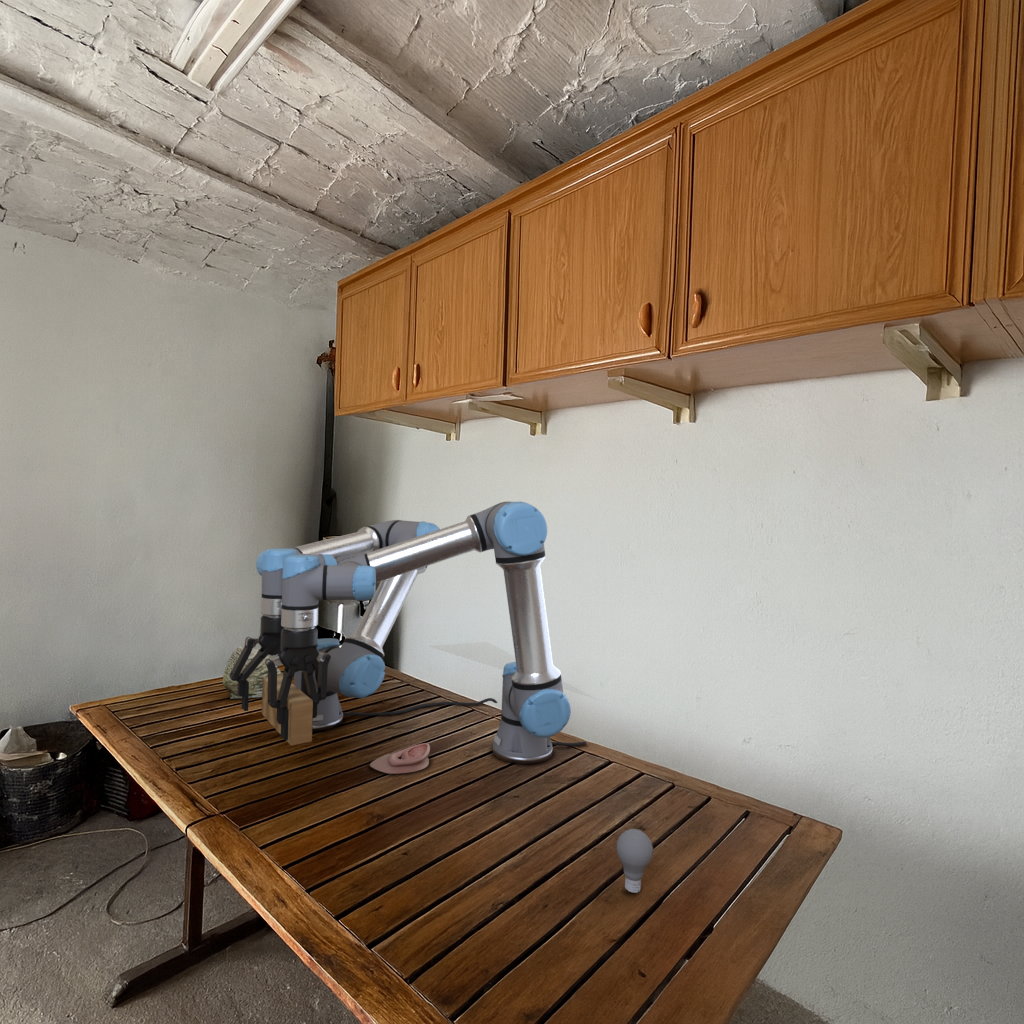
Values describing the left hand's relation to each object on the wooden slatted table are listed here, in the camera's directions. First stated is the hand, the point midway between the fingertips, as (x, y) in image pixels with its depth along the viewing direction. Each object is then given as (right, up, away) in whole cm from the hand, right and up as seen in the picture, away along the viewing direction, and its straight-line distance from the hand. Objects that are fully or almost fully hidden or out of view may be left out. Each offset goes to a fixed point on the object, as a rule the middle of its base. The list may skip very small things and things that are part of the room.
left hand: (275, 704), depth 149 cm
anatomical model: (+29, -15, +2) cm, 33 cm away
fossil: (-25, -12, +49) cm, 56 cm away
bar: (+5, -3, -7) cm, 9 cm away
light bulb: (+76, -18, -43) cm, 89 cm away
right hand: (+9, -3, -13) cm, 16 cm away
